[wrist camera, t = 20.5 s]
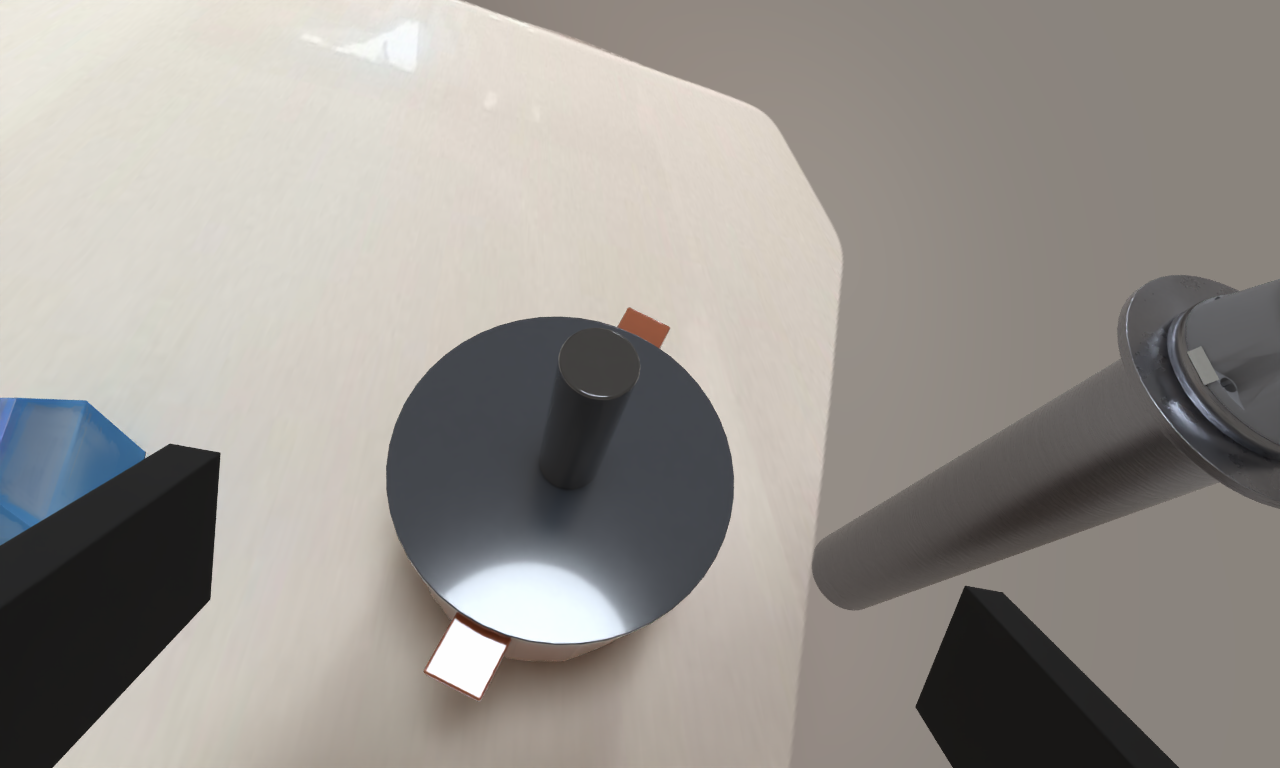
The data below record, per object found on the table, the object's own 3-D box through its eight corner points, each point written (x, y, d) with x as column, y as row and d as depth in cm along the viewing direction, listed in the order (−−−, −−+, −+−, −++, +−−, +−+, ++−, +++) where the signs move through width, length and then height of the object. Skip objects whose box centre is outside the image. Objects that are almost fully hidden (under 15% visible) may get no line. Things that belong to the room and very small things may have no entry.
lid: (765, 413, 33) (863, 299, 24) (652, 716, 25) (736, 702, 17) (500, 283, 33) (507, 127, 25) (311, 544, 26) (230, 448, 17)
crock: (712, 448, 42) (774, 368, 33) (582, 764, 33) (620, 771, 24) (521, 354, 43) (531, 250, 34) (336, 639, 33) (282, 600, 24)
